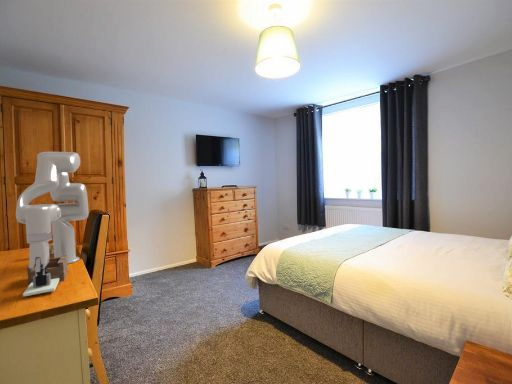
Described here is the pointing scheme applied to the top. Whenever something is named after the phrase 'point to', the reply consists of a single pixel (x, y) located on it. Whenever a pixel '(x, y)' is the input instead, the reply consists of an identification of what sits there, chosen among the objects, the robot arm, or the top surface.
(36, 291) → the cover plate
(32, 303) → the top surface
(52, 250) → the lion figurine
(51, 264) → the slide box
